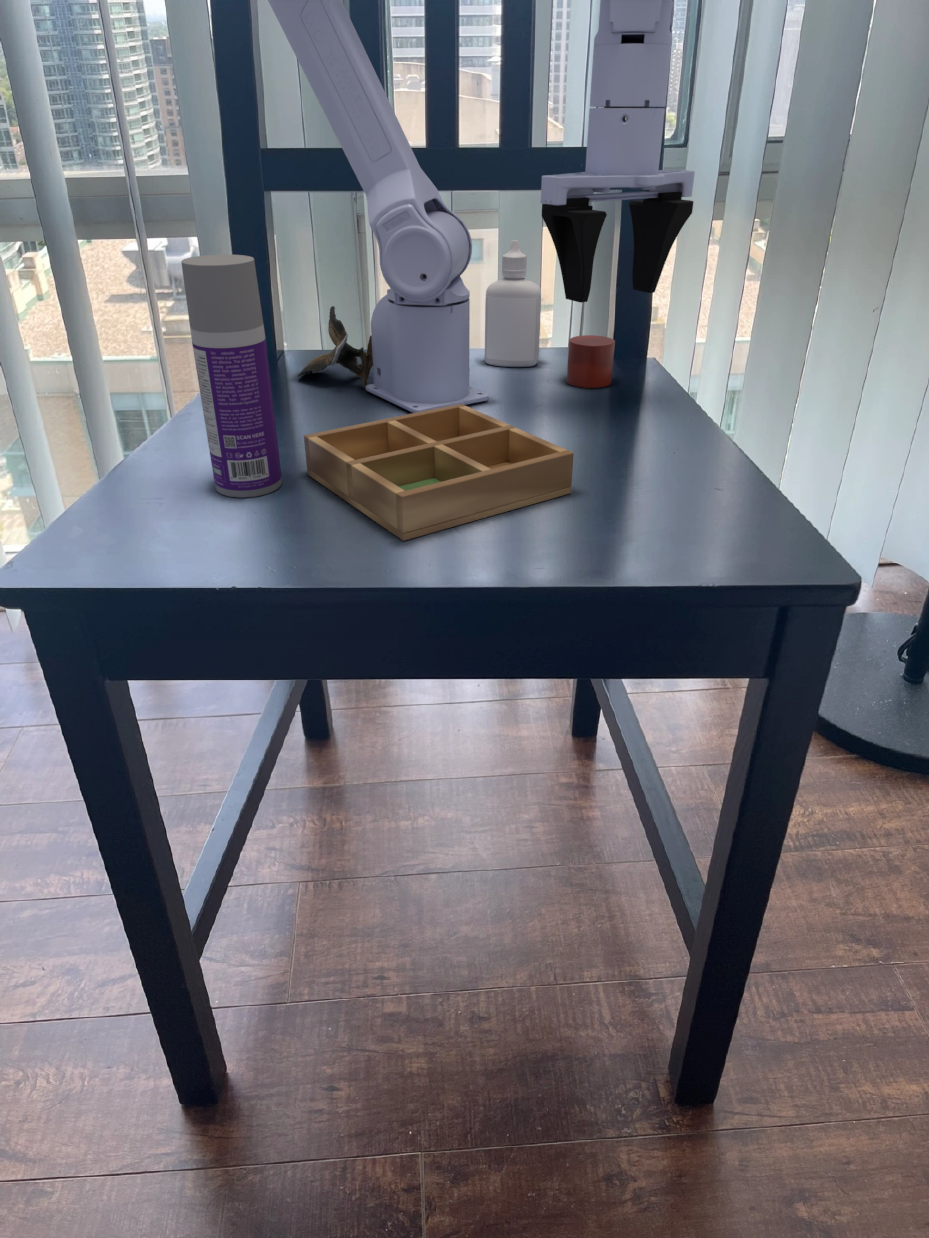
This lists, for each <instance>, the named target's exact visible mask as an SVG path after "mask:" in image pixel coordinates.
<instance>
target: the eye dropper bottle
mask: <svg viewBox="0 0 929 1238" xmlns="http://www.w3.org/2000/svg"><path fill="white" fill-rule="evenodd" d="M527 258H528V256H527V255H526V254H524V253H523V252H522V251H521V248H520V241H519V240H518V239H511V241H510V246H509V250H508V252H507V253H504V254H503V255H502V259H501V277H502V279H501V278H500V279H498V280H496V281H493V282H491V283H490V284H489V285H488V286H487V287H486V290H485V305H484V309H485V310H484V361H485V363H486V364H488V365H490V366H497V367H504V368H505V367H506V368H529V367H534V366H535V365H537V363H538V361H539V358H540V340H541V339H540V338H541V337H540V335H541V313H542V289H541V287H540V285H538V284H537V283H535V282H533V281H531V280H528V279H526V277H527V263H528V261H527V260H528V259H527Z"/></svg>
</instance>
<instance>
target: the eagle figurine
mask: <svg viewBox="0 0 929 1238" xmlns="http://www.w3.org/2000/svg"><path fill="white" fill-rule="evenodd" d="M335 310H336V307H335V306H334V305H332V306H331V307H330V308H329V315H328V317H329V320H328V327H327V329H328V336H329V338H330V340H331V342H332V343H333V345H334V348H333V349H332V351H330V352H327V353H325V354H321V355H318V356H315V357H313V358H312V359H311V360H310V361H309V362H308V363H307V364H306V365H305V366H304V367H303V368H302V370H301V371H300V372H299V373H298V374H297V377H296V378H299V377H301V376H304V375H308V374H312V373H318V372H320V371H324V370H325V369H327V368H328V367H329V366H330V365H331V366H332V367H333V366H335V365H336V364H339V365H340V366H342V367H343V368H345V369H347V370H348V371H349V372H350V373H352V374H355V375H356V376H358V377H360V381H361V385H362V387H363V388H365V389H366V385H368V379H369V376H370V374H371V369H373V357H372V339H371V335H370V336H369V338H368V341H367V342H368V343H367V347H366V348H367V349H366V352H365V347H363V346H362V347H361V348H355V347H353V346H352V345H351V344H349V343H348V336H349V335H348V333H347V331H346V328H345V325H344V324H343V323H342V321H341V319H337V314H336V311H335ZM358 358H360V361H361V363H358Z"/></svg>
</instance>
